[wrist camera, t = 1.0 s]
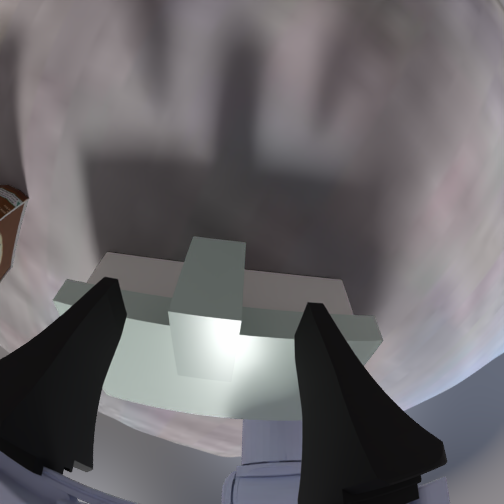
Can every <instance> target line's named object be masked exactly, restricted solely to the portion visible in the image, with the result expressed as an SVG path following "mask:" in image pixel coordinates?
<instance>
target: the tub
mask: <svg viewBox="0 0 504 504" xmlns="http://www.w3.org/2000/svg"><path fill="white" fill-rule="evenodd" d="M183 264H184V262H179V261H172V260H164V259H156V258H149V257H141V256H134V255H126V254H119V253H112V252H107V253H106V254H105V256H104V257H103V258H102V260H101V261H100V263H99V264H98V266H97V267H96V269H95V270H94V272H93V273H92V275H91V276H90V278H89V280H88V281H87V283H89V284H94V285H96V284H97V283H98V282H99V281H100V280H101V279H103V278H104V277H109V278H115V279H118V281H119V285H120V289H121V290H127V291H132V292H138V293H144V294H150V295H157V296H163V297H170V298H172V297H173V294H174V291H175V288H176V285H177V282H178V279H179V276H180V273H181V270H182V267H183ZM307 302H313V303H323V304H324V306H325V307H326V309H327V310H328V312H329V314H342V315H354V314H353V311H352V308H351V305H350V302H349V299H348V296H347V293H346V290H345V287H344V285H343V282H342V280H341V279H330V278H320V277H311V276H301V275H291V274H282V273H273V272H264V271H255V270H246V269H244V286H243V304H242V307H250V308H260V309H271V310H282V311H295V312H304V310H305V308H306V305H307Z"/></svg>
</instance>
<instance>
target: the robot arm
mask: <svg viewBox="0 0 504 504" xmlns="http://www.w3.org/2000/svg"><path fill="white" fill-rule="evenodd" d="M126 317H127V312H126V309H125V305H124V301H123V297H122V293H121V289H120V285H119V281H118V279H115V278H109V277H104V278H103V279H101V280H100V281H99V282H98V283H97V284H96V285H94V286H93V287H92V288H91V289H90V290H89V291H88V292H87V293H86V294H84V295H83V296H82V297H81V298H80V299H79V300H78V301H77V302H76V303H75V304H73V305H72V306H71V307H70V308H69V309H68V310H67V311H66V312H65V313H63V314H62V315H61V316H60V317H59V318H58V319H56V320H55V321H54V322H53V323H52V324H51V325H49V326H48V327H47V328H46V329H45V330H43V331H42V332H41V333H40V334H38V335H37V336H36V337H34V338H33V339H31V340H30V341H29V342H27V343H26V344H24V345H23V346H21V347H20V348H18V349H17V350H15V351H14V352H12V353H11V354H9V355H7V356H6V357H4V358H2V359H0V504H87V503H90V504H139V503H136V502H132V501H128V500H125V499H122V498H119V497H115V496H113V495H110V494H107V493H104V492H101V491H99V490H96V489H93V488H91V487H88V486H86V485H83V484H81V483H79V482H77V481H74V480H72V479H70V478H68V477H66V476H64V475H63V470H64V469H65V470H67V471H69V472H72V469H73V467H75V468H78V469H80V470H83V471H85V472H88V471H91V470H92V469H93V443H94V431H95V423H96V416H97V410H98V405H99V400H100V395H101V391H102V387H103V384H104V381H105V378H106V375H107V372H108V370H109V367H110V364H111V362H112V359H113V357H114V354H115V351H116V349H117V346H118V344H119V341H120V339H121V336H122V332H123V329H124V325H125V321H126ZM294 346H295V364H296V372H297V379H298V386H299V393H300V401H301V409H302V420H296V421H274V420H248V419H243V431H242V462H241V466H237V467H236V469H237V470H236V471H233V472H231V473H230V475H229V476H227V478H226V479H225V481H224V484H223V488H222V504H450V500H449V492H448V486H447V480H446V477H442V478H439V479H437V480H434V481H432V482H430V483H427V484H424V485H421V486H418V485H417V483H420V482H421V475H422V474H424V473H427V472H429V471H431V470H434V469H436V468H438V467H440V466H443V465H445V464H446V463H447V458H446V454H445V450H444V445H443V442H442V441H441V440H439V439H438V438H437V437H435V436H434V435H432V434H430V433H429V432H428V431H426V430H425V429H424V428H422V427H421V426H420V425H419V424H418V423H416V422H415V421H414V420H413V419H412V418H410V417H409V416H408V415H407V414H406V413H405V412H404V411H403V410H402V409H401V408H400V407H399V406H398V405H397V404H396V403H395V402H394V401H393V400H392V399H391V398H390V397H389V396H388V395H387V394H386V393H385V392H384V391H383V390H382V388H381V387H380V386H379V385H378V384H377V383H376V381H375V380H374V379H373V378H372V376H371V375H370V374H369V373H368V371H367V370H366V369H365V367H364V366H363V364H362V363H361V362H360V360H359V359H358V357H357V356H356V355H355V353H354V352H353V350H352V349H351V347H350V346H349V344H348V343H347V341H346V340H345V338H344V336H343V335H342V333H341V332H340V330H339V328H338V327H337V325H336V324H335V322H334V320H333V319H332V317H331V315H330V314H329V312H328V310H327V309H326V307H325V306H324V304H323V303H313V302H307V305H306V308H305V310H304V313H303V315H302V318H301V320H300V323H299V325H298V328H297V330H296V333H295V335H294ZM77 498H78V499H80V500H83V501H85V502H87V503H83V502H79V501H78V500H77Z"/></svg>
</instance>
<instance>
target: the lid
mask: <svg viewBox="0 0 504 504" xmlns="http://www.w3.org/2000/svg"><path fill="white" fill-rule="evenodd" d="M245 251H246V242H238V241H229V240H221V239H212V238H204V237H195V236H193V238H192V241H191V244H190V247H189V250H188V252H187V255H186V258H185V261H184V264H183V267H182V270H181V273H180V276H179V279H178V282H177V285H176V288H175V291H174V294H173V297H172V298H170V297H163V296H157V295H150V294H144V293H138V292H132V291H127V290H121V293H122V297H123V301H124V305H125V309H126V312H127V317H126V321H125V325H124V329H123V332H122V336H121V339H120V341H119V344H118V346H117V349H116V351H115V354H114V357H113V359H112V362H111V364H110V367H109V370H108V372H107V375H106V378H105V381H104V384H103V387H102V388H103V390H104V391H105V393H106V394H107V395H109V396H112V397H116V398H119V399H123V400H127V401H131V402H135V403H139V404H143V405H147V406H152V407H157V408H162V409H167V410H172V411H178V412H184V413H190V414H197V415H205V416H213V417H222V418H234V419H248V420H274V421H296V420H302V409H301V401H300V393H299V386H298V379H297V372H296V364H295V346H294V335H295V333H296V330H297V328H298V325H299V323H300V320H301V318H302V315H303V313H304V312H295V311H282V310H271V309H260V308H250V307H242V304H243V286H244V268H245ZM93 286H94V284H89V283H84V282H79V281H75V280H70V279H67V280H66V281H65V283H64V284H63V286H62V287H61V288H60V290H59V291H58V293H57V294H56V296H55V298H54V299H53V302H54V304H55V306H56V309H57V311H58V313H59V315H60V316H61V315H62V314H63V313H65V312H66V311H67V310H68V309H69V308H70V307H71V306H72V305H73V304H75V303H76V302H77V301H78V300H79V299H80V298H81V297H82V296H83V295H84V294H86V293H87V292H88V291H89V290H90V289H91V288H92V287H93ZM330 315H331V317H332V319H333V320H334V322H335V324H336V325H337V327H338V328H339V330H340V332H341V333H342V335H343V336H344V338H345V340H346V341H347V343H348V344H349V346H350V347H351V349H352V350H353V352H354V353H355V355H356V356H357V357H358V359H359V360H360V362H361V363H362V364H363V366H364V365H365V364H366V363H367V361H368V360H369V359H370V358H371V356H372V355H373V354H374V352H375V351H376V350H377V348H378V347H379V346H380V344H381V343H382V342H383V338H382V335H381V333H380V330H379V327H378V325H377V322H376V319H375V317H374V316H366V315H342V314H330Z"/></svg>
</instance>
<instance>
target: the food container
mask: <svg viewBox="0 0 504 504" xmlns="http://www.w3.org/2000/svg"><path fill="white" fill-rule="evenodd" d="M28 200H29V198H28V197H27V196H26V195H25V194H24V193H22V192H21V191H20V190H18V189H16V188H14V187H12V186H10V185H0V283H1V281H2V280H3V279H4V277H5V276H6V275H7V273H8V272H9V271H10V269H11V268H12V267H13V261H14V256H15V251H16V246H17V241H18V237H19V232H20V228H21V224H22V220H23V217H24V213H25V210H26V206H27V203H28Z"/></svg>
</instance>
